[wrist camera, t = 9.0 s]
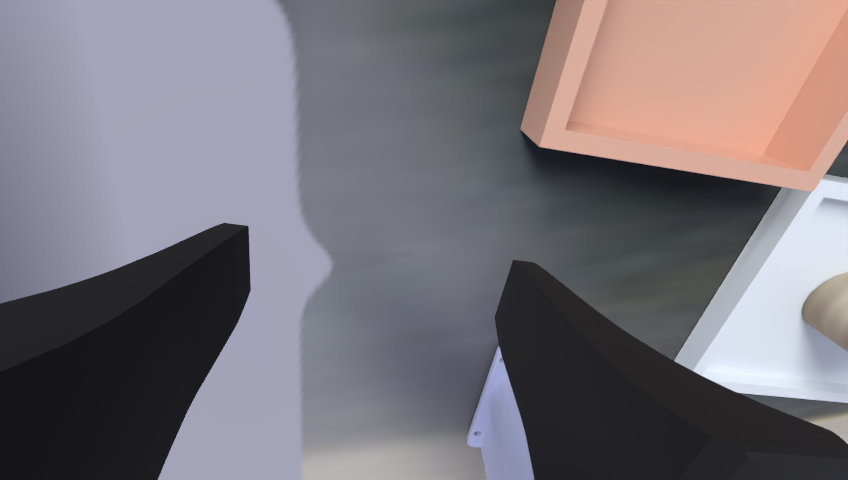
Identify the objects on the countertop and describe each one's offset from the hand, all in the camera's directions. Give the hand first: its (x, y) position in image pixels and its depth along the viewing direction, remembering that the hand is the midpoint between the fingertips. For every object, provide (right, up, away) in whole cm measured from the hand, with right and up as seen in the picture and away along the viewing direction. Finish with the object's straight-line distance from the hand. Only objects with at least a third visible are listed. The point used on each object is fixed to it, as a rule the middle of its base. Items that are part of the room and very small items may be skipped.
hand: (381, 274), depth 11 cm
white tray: (+25, -2, +13) cm, 29 cm away
